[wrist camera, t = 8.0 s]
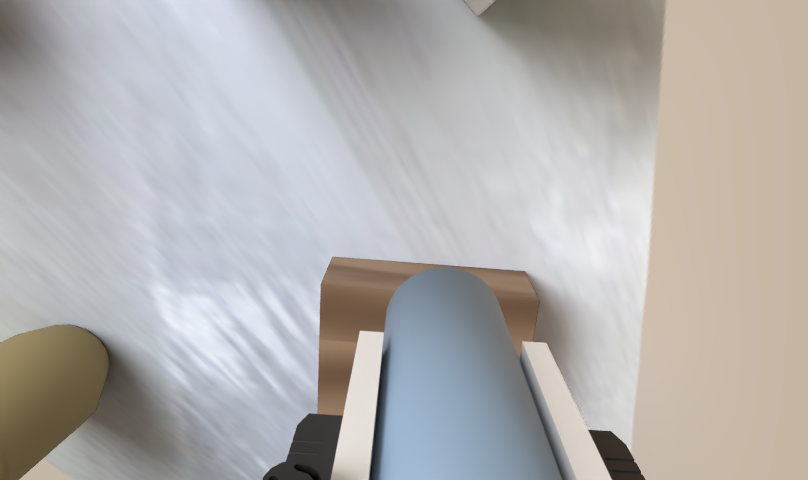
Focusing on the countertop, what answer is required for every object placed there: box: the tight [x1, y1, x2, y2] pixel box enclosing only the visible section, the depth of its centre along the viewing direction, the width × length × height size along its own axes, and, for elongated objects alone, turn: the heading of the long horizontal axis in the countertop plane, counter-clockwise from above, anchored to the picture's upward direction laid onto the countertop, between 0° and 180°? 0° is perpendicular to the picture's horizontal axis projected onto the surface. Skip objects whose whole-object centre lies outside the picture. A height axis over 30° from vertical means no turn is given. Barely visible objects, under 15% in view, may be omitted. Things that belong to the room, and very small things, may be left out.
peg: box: [370, 267, 562, 480], centre depth 14 cm, size 4×4×14 cm
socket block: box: [318, 257, 539, 416], centre depth 40 cm, size 14×14×5 cm
